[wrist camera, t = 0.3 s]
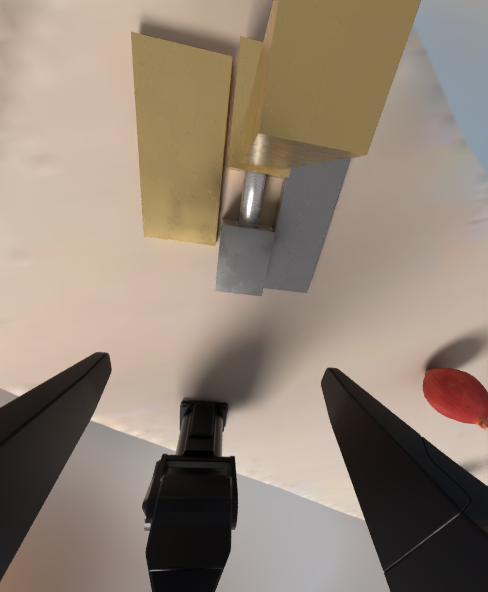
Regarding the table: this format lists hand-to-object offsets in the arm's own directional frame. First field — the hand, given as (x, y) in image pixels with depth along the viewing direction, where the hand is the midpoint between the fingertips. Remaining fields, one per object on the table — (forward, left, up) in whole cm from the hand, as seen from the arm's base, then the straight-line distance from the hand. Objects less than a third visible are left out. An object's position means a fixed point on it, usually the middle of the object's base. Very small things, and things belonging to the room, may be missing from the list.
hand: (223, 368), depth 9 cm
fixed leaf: (+6, -4, -13) cm, 15 cm away
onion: (-12, -29, -14) cm, 34 cm away
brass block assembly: (+8, +2, -13) cm, 16 cm away
